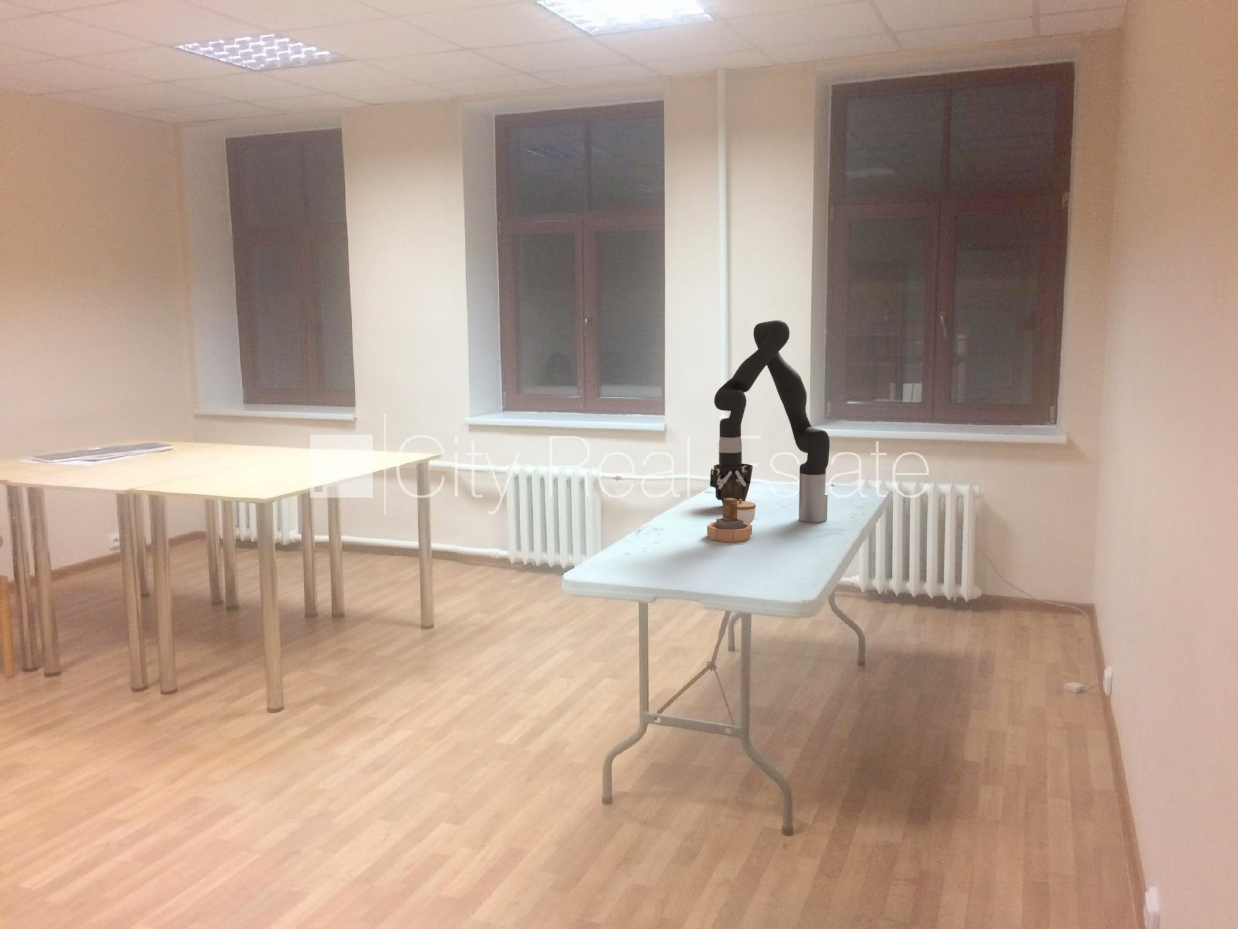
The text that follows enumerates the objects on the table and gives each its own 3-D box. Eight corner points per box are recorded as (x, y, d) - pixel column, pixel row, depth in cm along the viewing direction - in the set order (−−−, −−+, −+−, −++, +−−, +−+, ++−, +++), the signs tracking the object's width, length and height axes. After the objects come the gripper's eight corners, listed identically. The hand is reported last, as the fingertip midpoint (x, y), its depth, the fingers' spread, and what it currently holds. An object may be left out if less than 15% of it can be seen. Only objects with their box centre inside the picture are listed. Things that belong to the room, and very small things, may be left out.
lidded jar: (754, 529, 335) (754, 502, 334) (723, 528, 338) (723, 501, 336) (756, 522, 346) (756, 496, 344) (726, 521, 348) (726, 496, 346)
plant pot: (733, 512, 363) (733, 470, 361) (705, 506, 375) (705, 465, 372) (760, 507, 373) (760, 466, 370) (732, 501, 384) (732, 461, 382)
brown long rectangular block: (731, 532, 326) (731, 497, 324) (737, 535, 323) (737, 499, 321) (722, 534, 324) (722, 498, 322) (728, 536, 321) (728, 500, 319)
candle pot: (736, 531, 333) (736, 513, 332) (758, 539, 320) (759, 521, 319) (700, 535, 327) (700, 517, 326) (722, 544, 314) (722, 526, 314)
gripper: (742, 447, 325) (742, 494, 328) (705, 450, 319) (706, 498, 322) (754, 449, 319) (754, 498, 321) (717, 453, 313) (717, 502, 315)
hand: (730, 498), depth 322 cm, fingers open, 8 cm apart
